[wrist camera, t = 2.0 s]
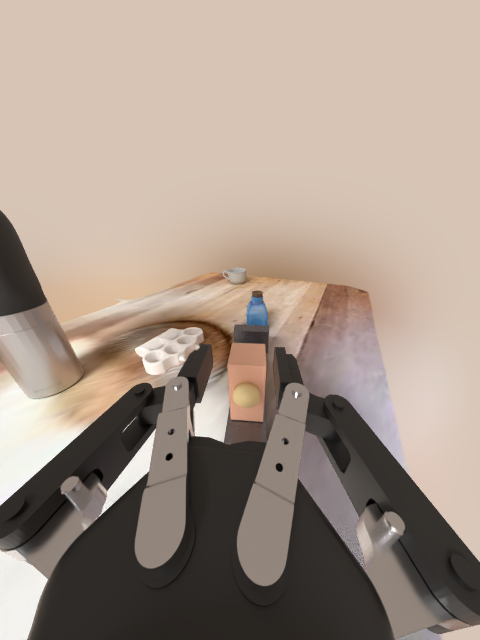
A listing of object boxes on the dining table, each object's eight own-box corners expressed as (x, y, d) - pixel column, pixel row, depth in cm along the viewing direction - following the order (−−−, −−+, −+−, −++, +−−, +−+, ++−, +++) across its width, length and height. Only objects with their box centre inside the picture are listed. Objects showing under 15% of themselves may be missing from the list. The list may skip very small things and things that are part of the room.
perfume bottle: (246, 323, 62) (247, 289, 57) (265, 323, 62) (266, 289, 56) (246, 332, 57) (247, 295, 51) (266, 332, 56) (268, 295, 51)
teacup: (247, 281, 113) (247, 267, 109) (245, 285, 103) (245, 271, 100) (225, 280, 115) (225, 267, 111) (221, 285, 105) (220, 271, 102)
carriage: (263, 429, 27) (266, 373, 22) (229, 426, 27) (225, 370, 22) (262, 395, 32) (265, 343, 27) (234, 393, 33) (232, 342, 28)
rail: (273, 455, 26) (277, 419, 22) (217, 450, 26) (213, 414, 23) (266, 352, 47) (268, 325, 43) (235, 351, 48) (235, 324, 44)
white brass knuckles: (178, 330, 59) (215, 341, 53) (125, 363, 45) (167, 383, 39) (176, 321, 57) (214, 331, 51) (120, 352, 43) (164, 371, 37)
